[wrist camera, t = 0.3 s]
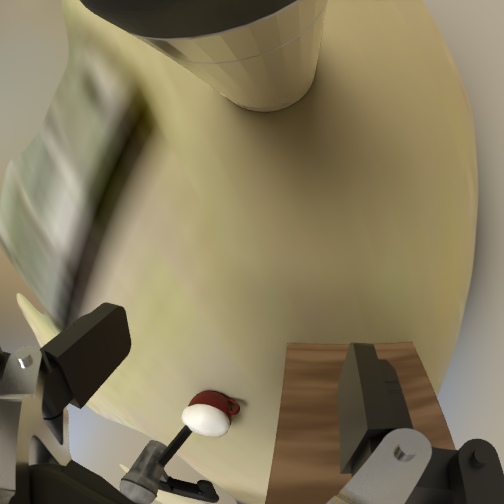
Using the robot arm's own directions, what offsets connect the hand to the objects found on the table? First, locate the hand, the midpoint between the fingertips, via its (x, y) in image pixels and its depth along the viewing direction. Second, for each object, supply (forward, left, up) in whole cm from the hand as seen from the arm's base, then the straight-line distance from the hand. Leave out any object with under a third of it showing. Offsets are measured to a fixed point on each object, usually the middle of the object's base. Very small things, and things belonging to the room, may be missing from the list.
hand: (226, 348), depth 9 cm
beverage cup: (+45, -23, -19) cm, 54 cm away
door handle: (+63, -23, -19) cm, 70 cm away
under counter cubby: (+25, +9, -18) cm, 32 cm away
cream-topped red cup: (+25, -9, -19) cm, 32 cm away
